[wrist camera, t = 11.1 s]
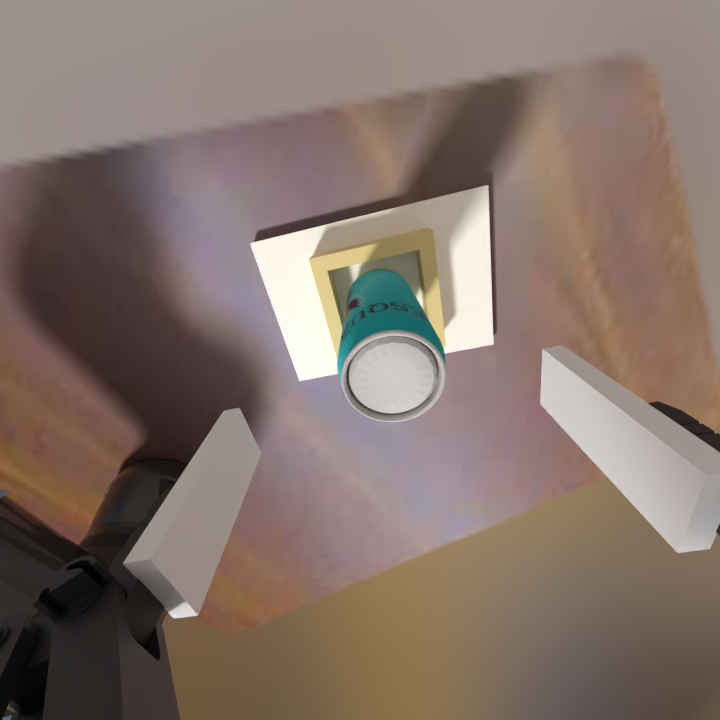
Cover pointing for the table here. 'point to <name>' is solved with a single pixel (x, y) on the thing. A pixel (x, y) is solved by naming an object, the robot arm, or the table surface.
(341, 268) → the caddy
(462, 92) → the table surface
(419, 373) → the beverage can
